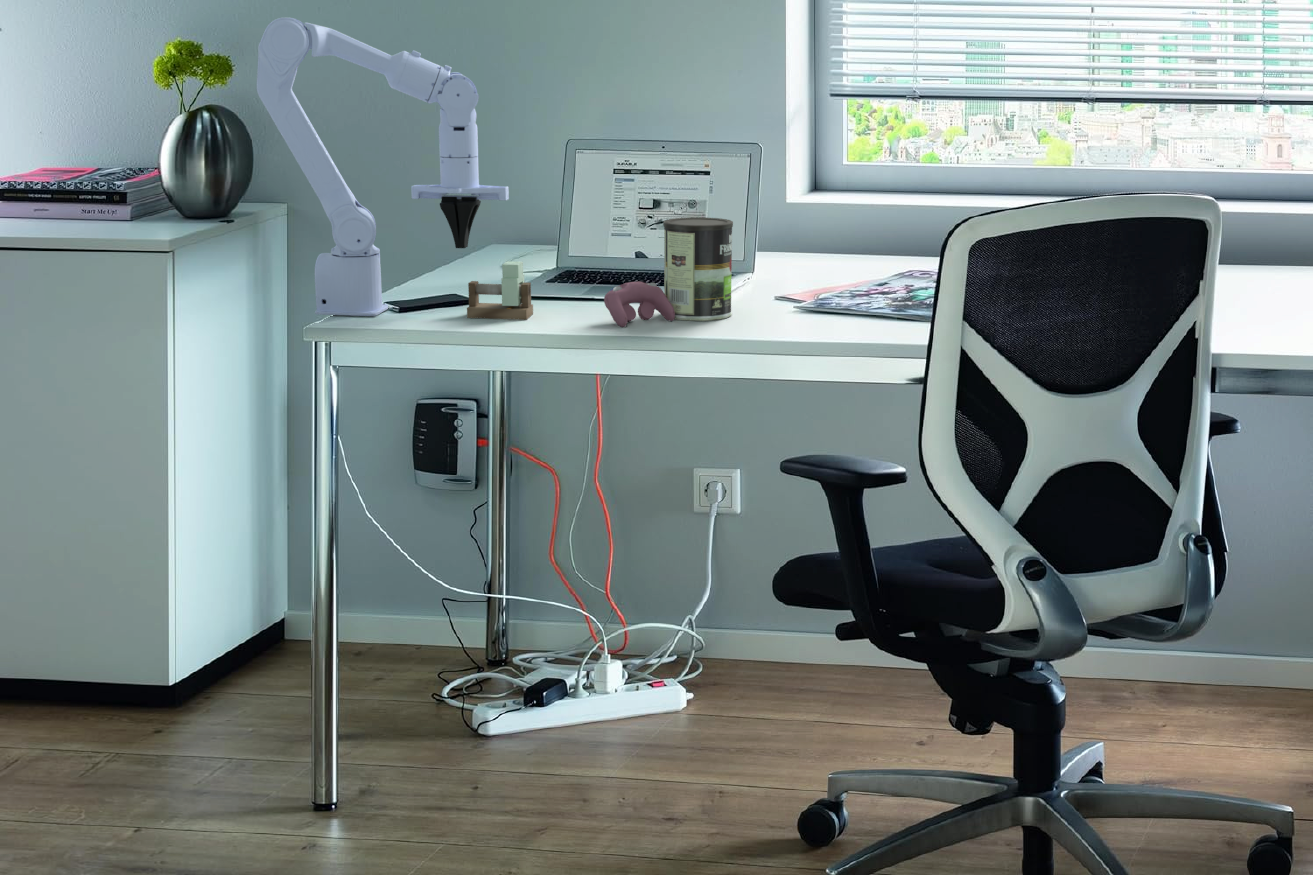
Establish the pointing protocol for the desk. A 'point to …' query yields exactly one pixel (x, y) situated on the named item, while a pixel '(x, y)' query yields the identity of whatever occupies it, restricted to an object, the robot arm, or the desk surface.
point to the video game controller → (639, 293)
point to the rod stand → (496, 308)
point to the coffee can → (698, 267)
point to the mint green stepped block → (511, 283)
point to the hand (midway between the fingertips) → (461, 247)
